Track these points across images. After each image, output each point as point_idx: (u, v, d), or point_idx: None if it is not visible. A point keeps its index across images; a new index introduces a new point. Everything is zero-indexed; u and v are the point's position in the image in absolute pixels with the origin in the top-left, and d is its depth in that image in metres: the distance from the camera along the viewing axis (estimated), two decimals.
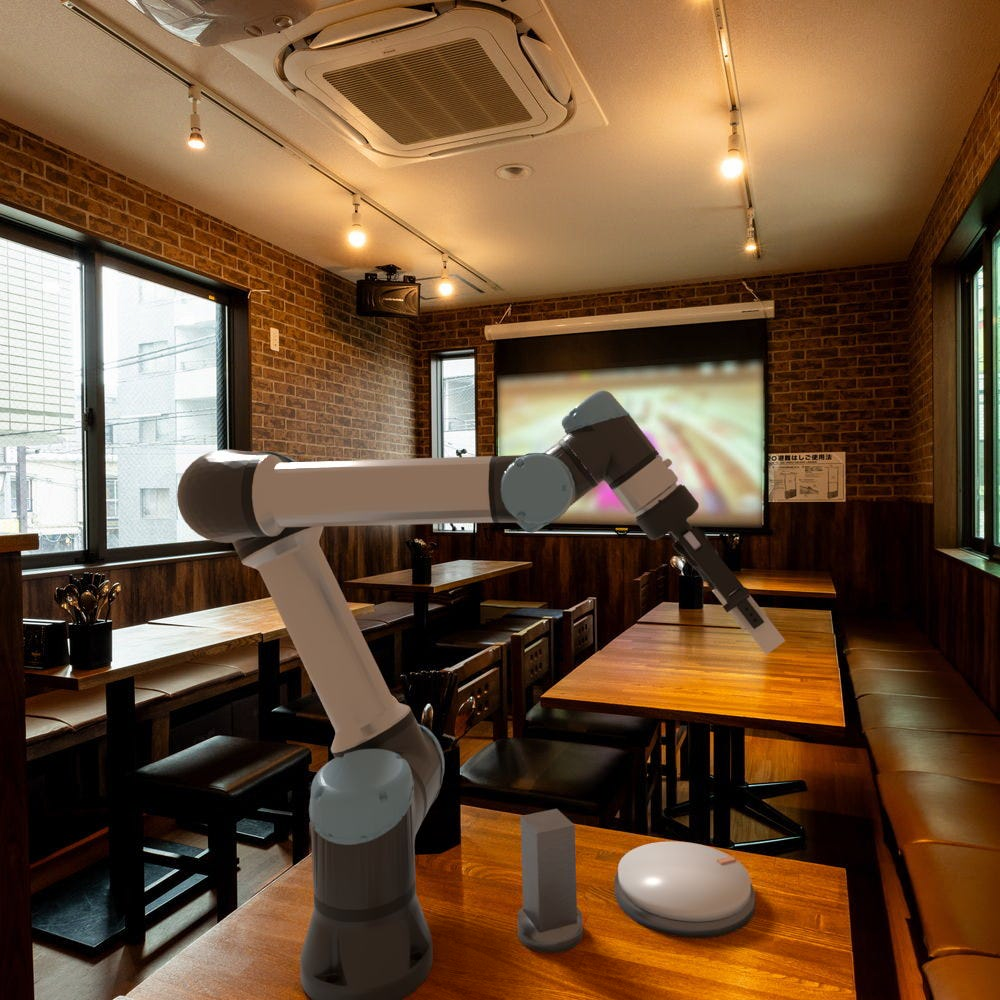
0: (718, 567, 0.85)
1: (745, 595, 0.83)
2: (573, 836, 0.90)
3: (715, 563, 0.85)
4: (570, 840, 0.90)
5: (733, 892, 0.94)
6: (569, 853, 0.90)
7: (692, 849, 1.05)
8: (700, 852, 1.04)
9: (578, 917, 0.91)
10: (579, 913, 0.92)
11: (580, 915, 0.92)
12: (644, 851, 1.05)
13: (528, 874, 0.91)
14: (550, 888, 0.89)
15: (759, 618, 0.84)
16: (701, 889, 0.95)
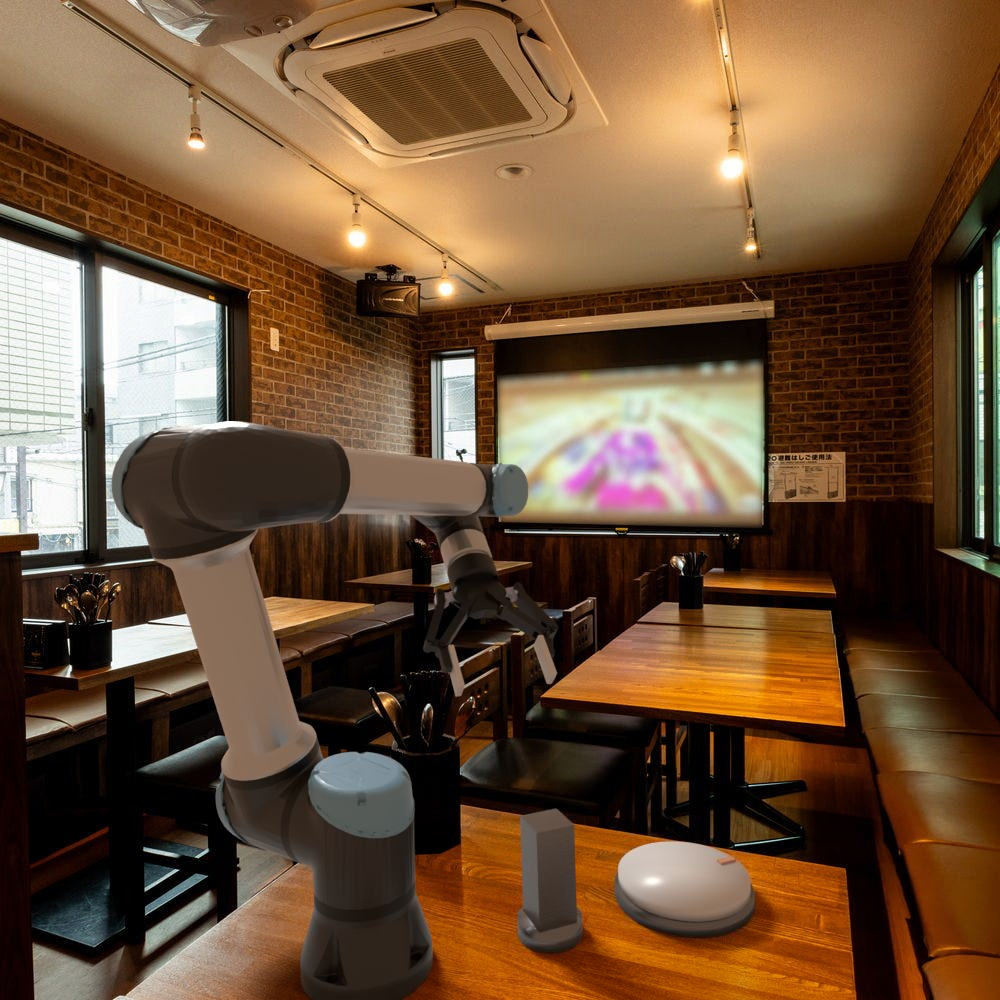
0: None
1: (554, 635, 1.11)
2: (573, 836, 0.90)
3: None
4: (570, 840, 0.90)
5: (733, 892, 0.94)
6: (568, 853, 0.90)
7: (692, 849, 1.05)
8: (700, 852, 1.04)
9: (578, 917, 0.91)
10: (579, 913, 0.92)
11: (580, 915, 0.92)
12: (644, 851, 1.05)
13: (528, 874, 0.91)
14: (549, 888, 0.89)
15: None
16: (701, 889, 0.95)
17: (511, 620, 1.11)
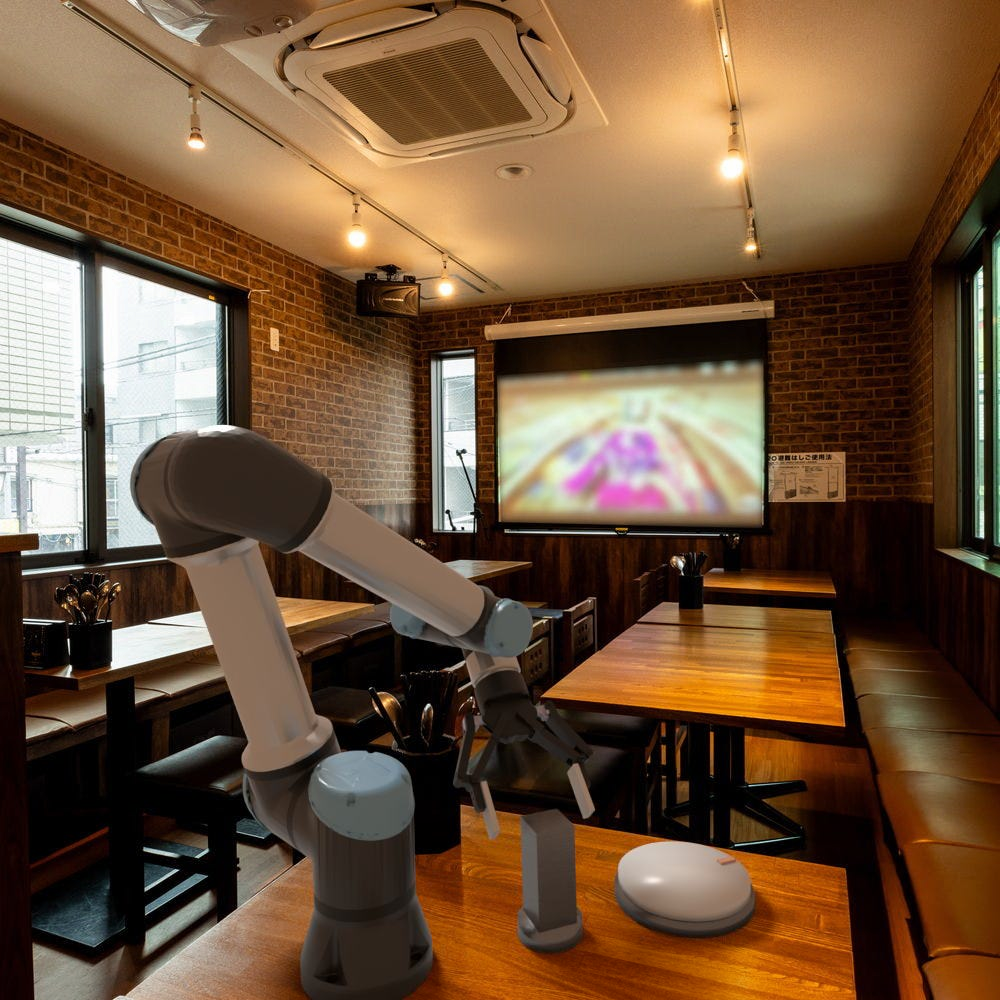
0: None
1: None
2: (573, 836, 0.90)
3: None
4: (570, 840, 0.90)
5: (733, 892, 0.94)
6: (568, 854, 0.90)
7: (692, 849, 1.05)
8: (700, 852, 1.04)
9: (578, 917, 0.91)
10: (579, 913, 0.92)
11: (580, 915, 0.92)
12: (644, 851, 1.05)
13: (528, 874, 0.91)
14: (549, 889, 0.89)
15: None
16: (701, 889, 0.95)
17: (543, 744, 1.05)
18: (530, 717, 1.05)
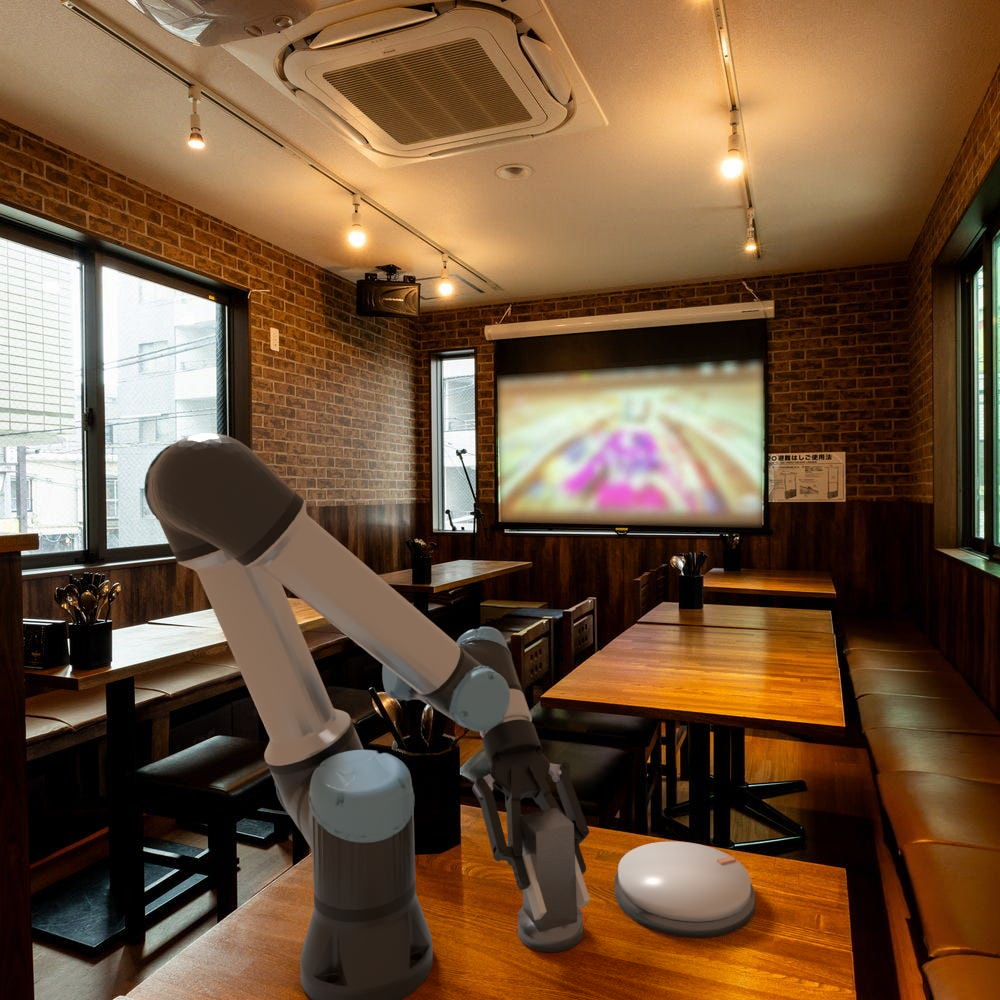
0: None
1: None
2: (572, 835, 0.90)
3: None
4: (569, 839, 0.90)
5: (733, 892, 0.94)
6: (568, 852, 0.90)
7: (692, 849, 1.05)
8: (700, 852, 1.04)
9: (578, 916, 0.91)
10: (579, 912, 0.92)
11: (580, 914, 0.92)
12: (644, 851, 1.05)
13: None
14: (549, 887, 0.89)
15: None
16: (701, 889, 0.95)
17: (544, 809, 0.97)
18: (540, 775, 0.98)
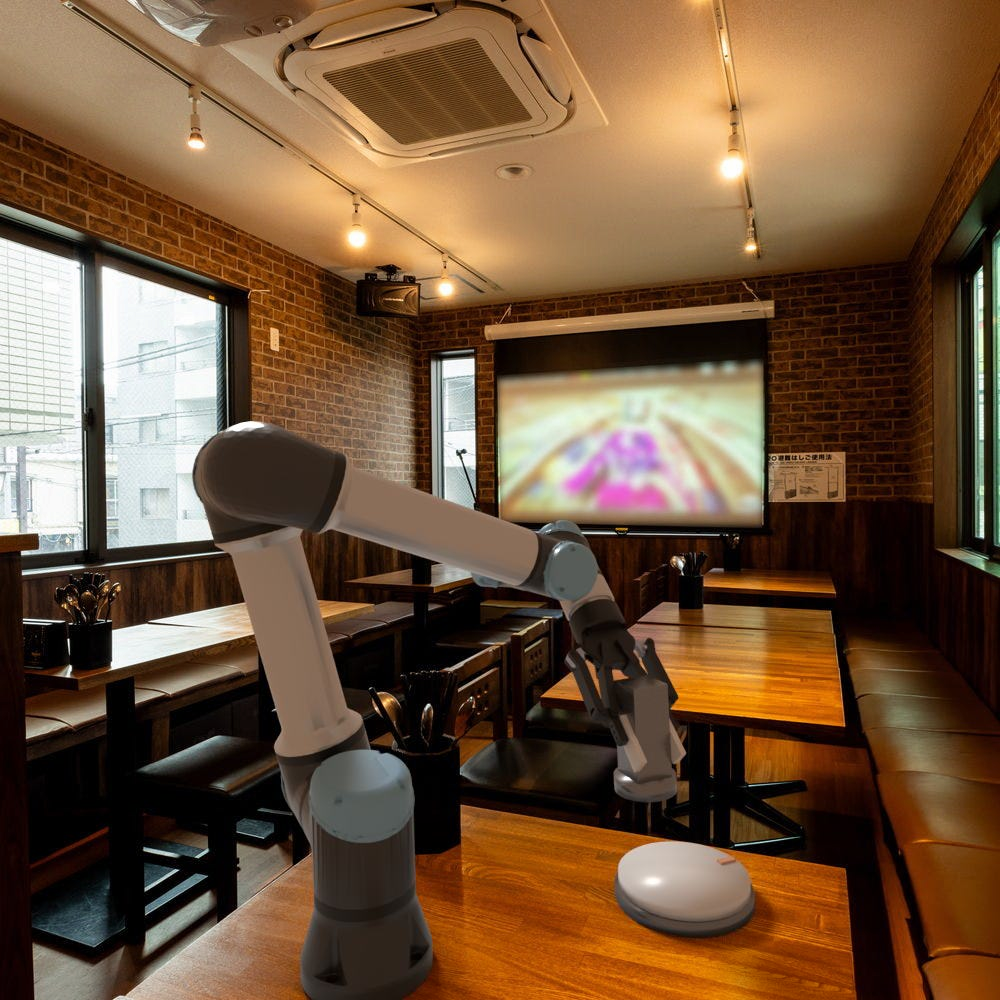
0: None
1: None
2: (666, 694, 0.95)
3: None
4: (664, 698, 0.95)
5: (733, 892, 0.94)
6: (663, 710, 0.95)
7: (692, 849, 1.05)
8: (700, 852, 1.04)
9: (672, 773, 0.96)
10: (672, 770, 0.97)
11: (673, 771, 0.97)
12: (644, 851, 1.05)
13: None
14: (646, 743, 0.94)
15: None
16: (701, 889, 0.95)
17: None
18: (628, 647, 1.03)
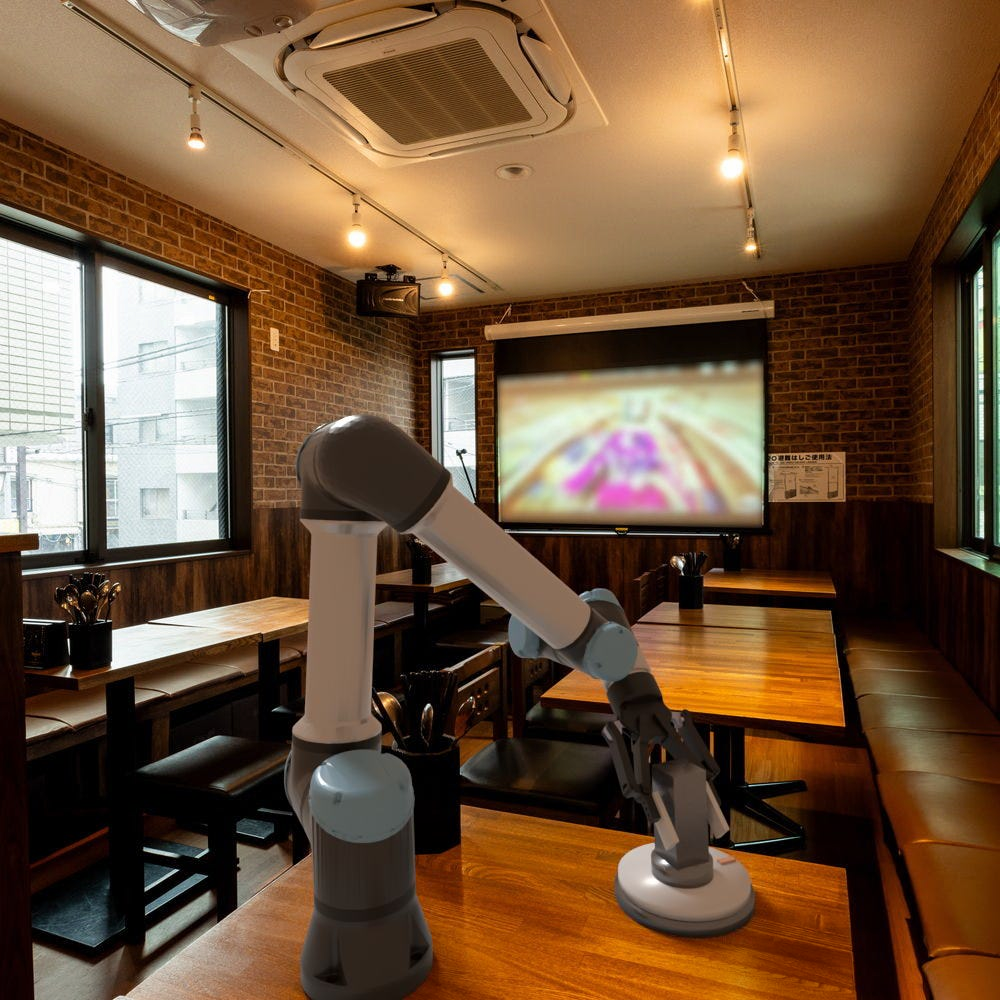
0: None
1: None
2: (704, 781, 0.97)
3: None
4: (702, 784, 0.97)
5: (733, 892, 0.94)
6: (701, 796, 0.97)
7: None
8: None
9: (708, 857, 0.98)
10: (708, 853, 0.99)
11: (710, 855, 0.99)
12: (644, 851, 1.05)
13: None
14: (685, 829, 0.96)
15: None
16: (701, 889, 0.95)
17: (673, 752, 1.04)
18: (666, 721, 1.05)
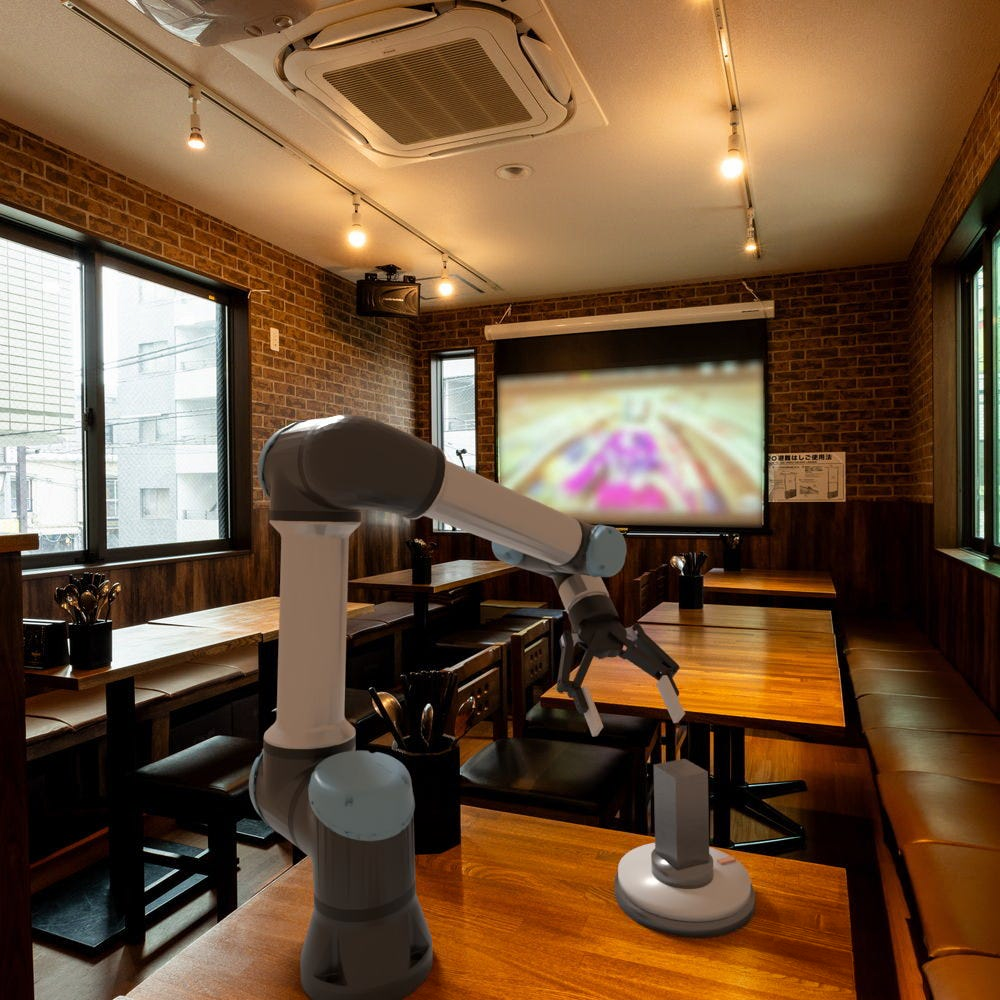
0: None
1: None
2: (706, 782, 0.97)
3: None
4: (704, 785, 0.97)
5: (733, 892, 0.94)
6: (702, 797, 0.97)
7: None
8: None
9: (709, 858, 0.98)
10: (708, 854, 0.99)
11: (710, 856, 0.99)
12: (644, 851, 1.05)
13: (663, 818, 0.98)
14: (686, 830, 0.96)
15: None
16: (701, 889, 0.95)
17: (633, 660, 1.16)
18: (621, 635, 1.16)
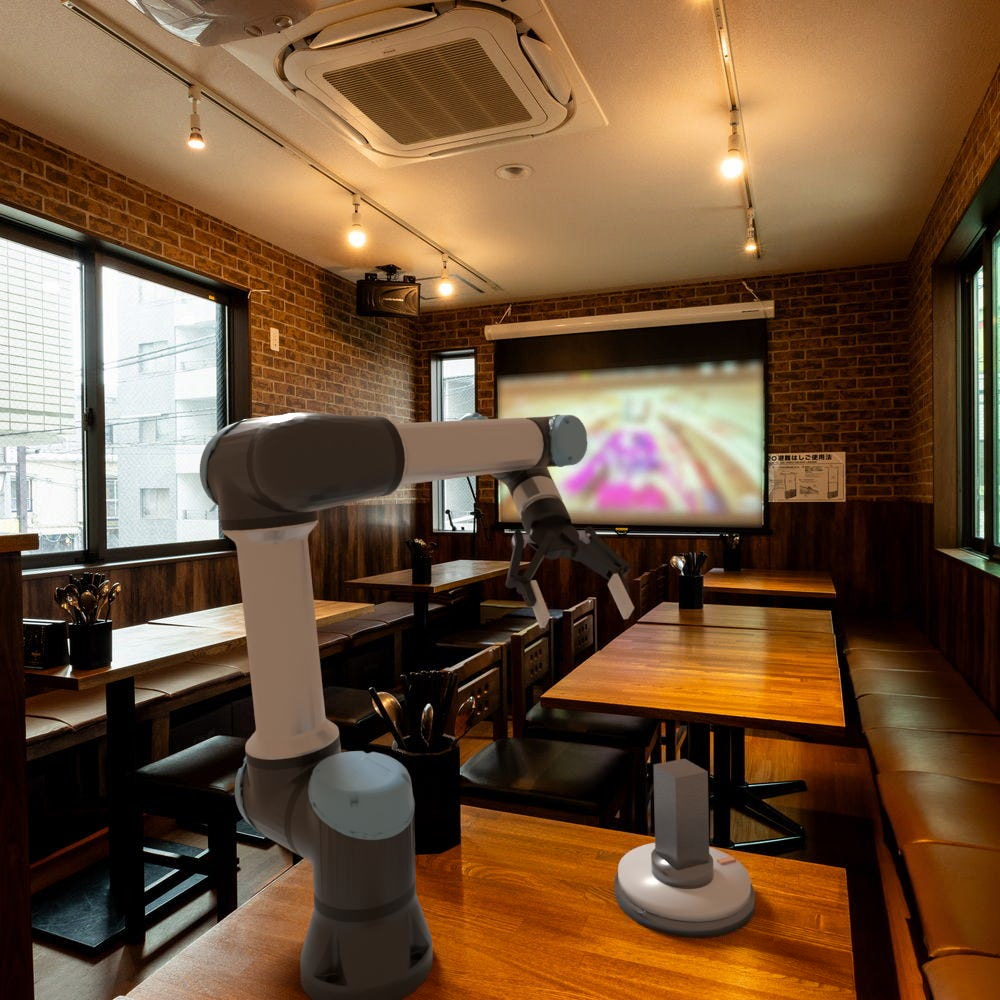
0: None
1: (626, 575, 1.16)
2: (706, 782, 0.97)
3: None
4: (704, 785, 0.97)
5: (733, 892, 0.94)
6: (702, 797, 0.97)
7: None
8: None
9: (709, 858, 0.98)
10: (708, 854, 0.99)
11: (710, 856, 0.99)
12: (644, 851, 1.05)
13: (663, 817, 0.98)
14: (686, 830, 0.96)
15: None
16: (701, 889, 0.95)
17: (585, 561, 1.16)
18: (573, 536, 1.16)
